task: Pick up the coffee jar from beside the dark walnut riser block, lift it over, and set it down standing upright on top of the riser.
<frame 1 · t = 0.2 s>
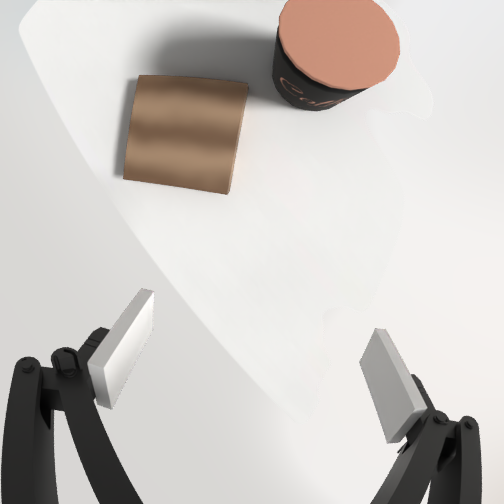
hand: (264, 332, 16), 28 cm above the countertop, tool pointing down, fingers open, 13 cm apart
walnut riser: (186, 131, 38), on the countertop
coffee jar: (310, 76, 35), on the countertop
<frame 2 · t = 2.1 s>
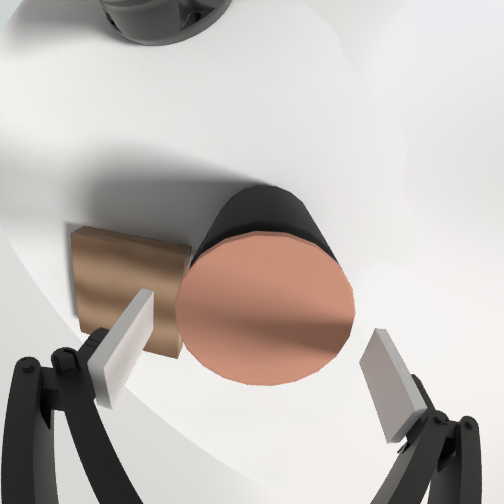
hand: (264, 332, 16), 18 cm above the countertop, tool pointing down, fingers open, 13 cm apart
walnut riser: (132, 289, 37), on the countertop
coffee jar: (264, 230, 34), on the countertop
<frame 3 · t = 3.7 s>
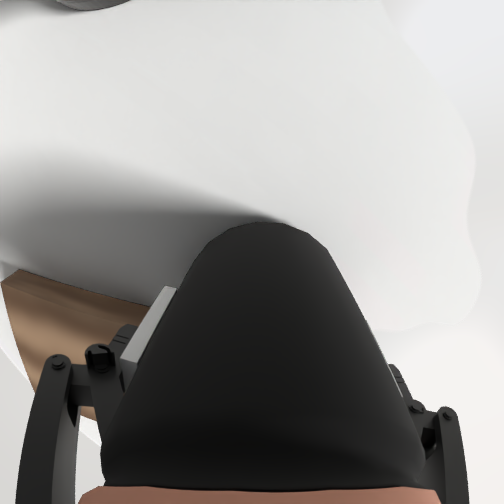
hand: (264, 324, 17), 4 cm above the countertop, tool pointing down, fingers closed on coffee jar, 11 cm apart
walnut riser: (86, 352, 25), on the countertop
coffee jar: (264, 288, 22), on the countertop, touching gripper
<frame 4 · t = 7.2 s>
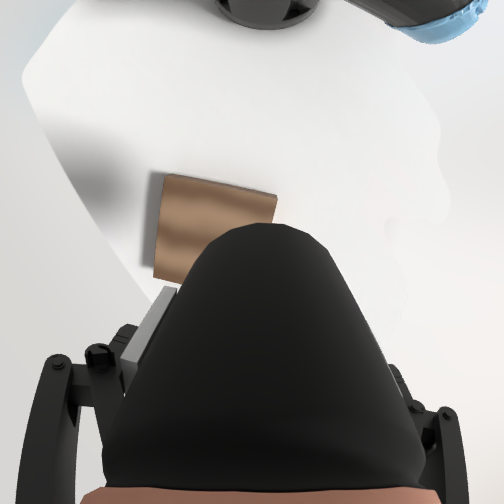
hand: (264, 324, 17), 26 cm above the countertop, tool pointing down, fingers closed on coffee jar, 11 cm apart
walnut riser: (213, 234, 43), on the countertop
coffee jar: (264, 288, 22), point 21 cm above the countertop, touching gripper
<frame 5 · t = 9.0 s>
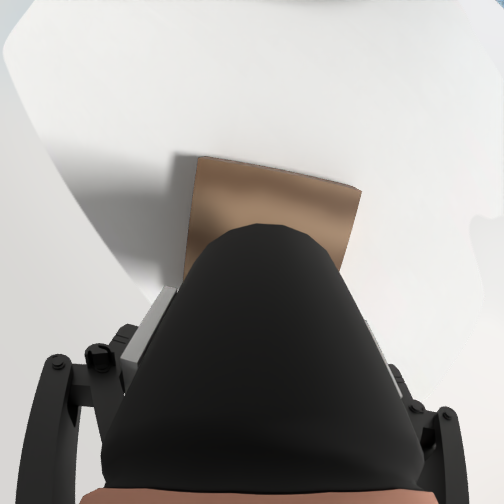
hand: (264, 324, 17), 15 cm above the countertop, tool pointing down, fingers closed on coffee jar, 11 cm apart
walnut riser: (265, 241, 31), on the countertop
coffee jar: (264, 289, 22), point 10 cm above the countertop, touching gripper
when the fingers open (8 cm above the countertop, at t = 10.7 s): coffee jar stays where it is, resting on walnut riser.
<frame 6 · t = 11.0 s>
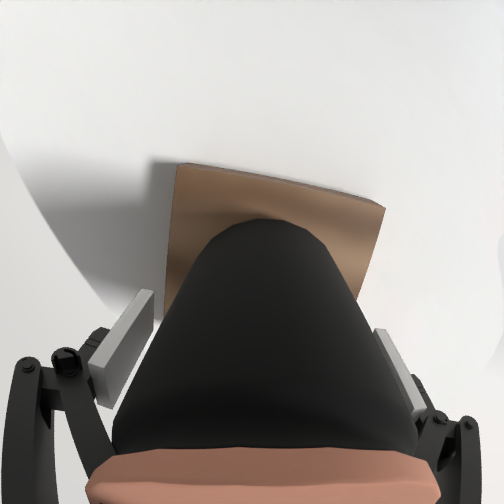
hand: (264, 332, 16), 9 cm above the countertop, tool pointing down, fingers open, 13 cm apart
walnut riser: (264, 267, 25), on the countertop
coffee jar: (265, 282, 22), point 3 cm above the countertop, touching walnut riser
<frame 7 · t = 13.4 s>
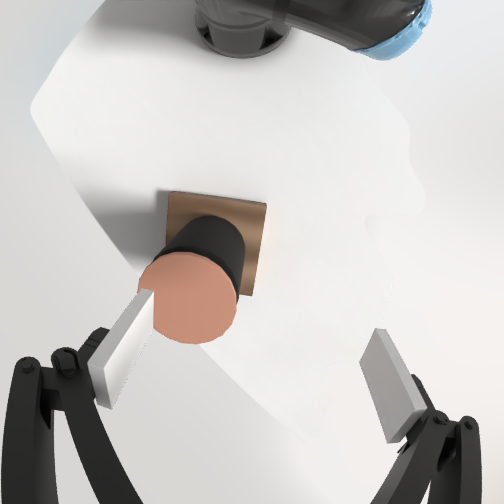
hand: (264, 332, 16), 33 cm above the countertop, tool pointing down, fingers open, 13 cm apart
walnut riser: (214, 241, 49), on the countertop
coffee jar: (212, 246, 47), point 3 cm above the countertop, touching walnut riser
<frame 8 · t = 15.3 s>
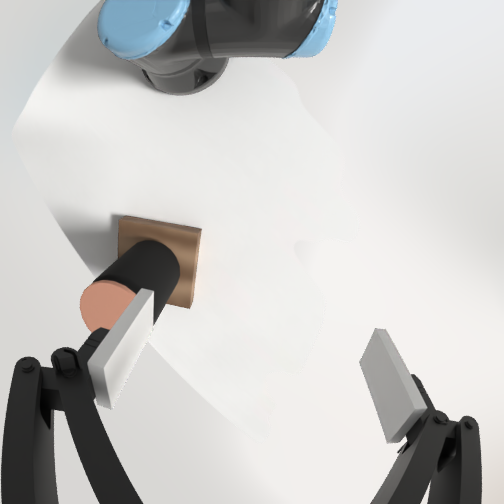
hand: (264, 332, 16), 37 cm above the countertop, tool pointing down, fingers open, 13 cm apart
walnut riser: (159, 259, 55), on the countertop
coffee jar: (154, 265, 53), point 3 cm above the countertop, touching walnut riser
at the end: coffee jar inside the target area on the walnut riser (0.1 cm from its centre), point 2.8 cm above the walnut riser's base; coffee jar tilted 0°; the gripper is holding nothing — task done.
